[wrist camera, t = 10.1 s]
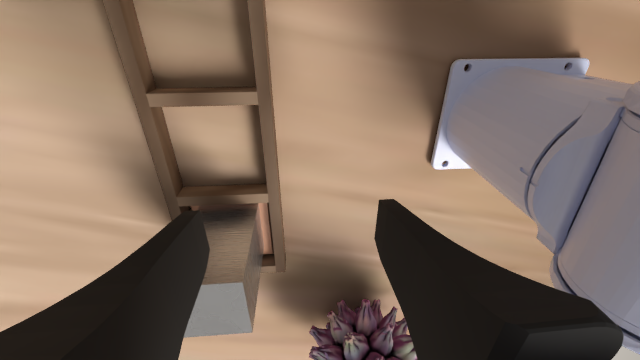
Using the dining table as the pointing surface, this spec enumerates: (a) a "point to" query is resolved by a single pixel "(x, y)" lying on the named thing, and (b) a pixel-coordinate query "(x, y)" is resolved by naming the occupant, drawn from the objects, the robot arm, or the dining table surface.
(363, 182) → the dining table surface
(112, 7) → the rail
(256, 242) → the square peg
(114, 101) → the dining table surface
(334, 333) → the spiky ball
